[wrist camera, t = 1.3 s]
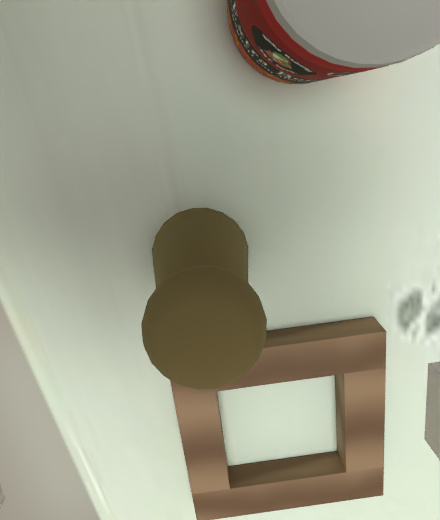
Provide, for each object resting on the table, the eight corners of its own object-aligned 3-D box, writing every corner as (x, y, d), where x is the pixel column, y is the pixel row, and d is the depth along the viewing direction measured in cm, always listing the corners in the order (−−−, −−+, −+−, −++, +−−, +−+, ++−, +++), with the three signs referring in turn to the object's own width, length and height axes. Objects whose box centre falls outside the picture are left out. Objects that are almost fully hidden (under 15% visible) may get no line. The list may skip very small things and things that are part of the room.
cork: (222, 312, 28) (239, 433, 18) (136, 276, 27) (101, 383, 16) (265, 233, 26) (313, 314, 16) (176, 190, 25) (165, 249, 15)
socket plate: (168, 344, 28) (166, 361, 27) (373, 316, 29) (386, 331, 27) (196, 498, 33) (197, 521, 31) (372, 473, 33) (383, 495, 32)
